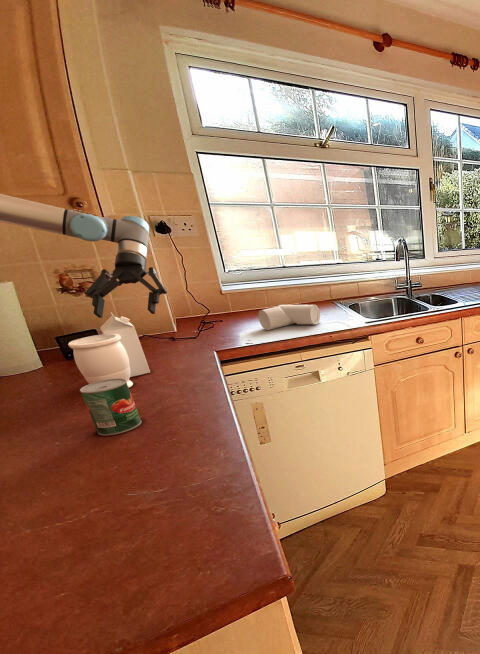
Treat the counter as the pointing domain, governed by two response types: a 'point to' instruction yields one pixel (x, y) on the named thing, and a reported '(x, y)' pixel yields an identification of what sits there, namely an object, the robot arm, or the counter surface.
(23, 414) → the counter surface
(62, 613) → the counter surface
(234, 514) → the counter surface
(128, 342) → the milk carton
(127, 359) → the jar
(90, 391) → the canned tomato
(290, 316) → the l-shaped cylinder
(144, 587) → the counter surface
